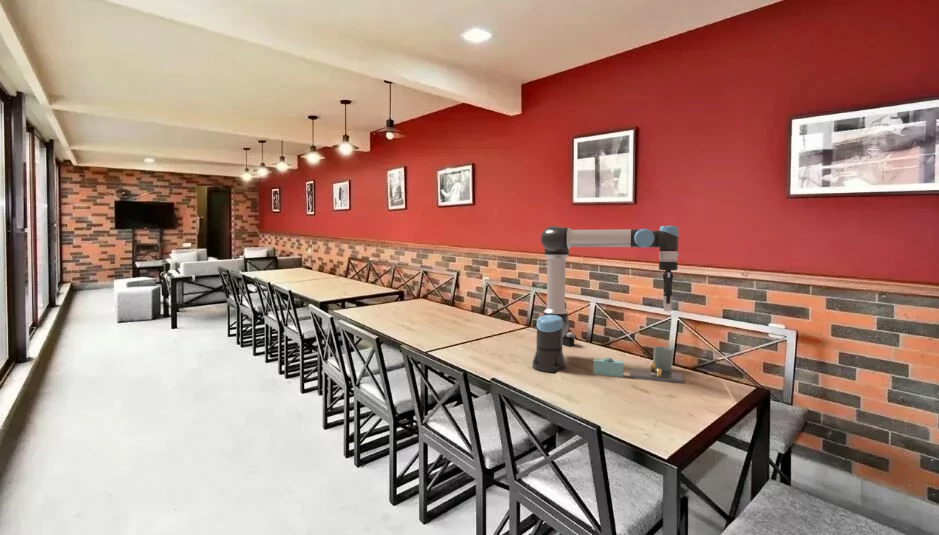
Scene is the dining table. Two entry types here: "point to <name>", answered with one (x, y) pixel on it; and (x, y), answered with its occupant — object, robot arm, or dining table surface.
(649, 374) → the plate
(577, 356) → the dining table surface
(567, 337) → the camera
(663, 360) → the cup
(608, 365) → the teal rectangular block
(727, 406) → the dining table surface
